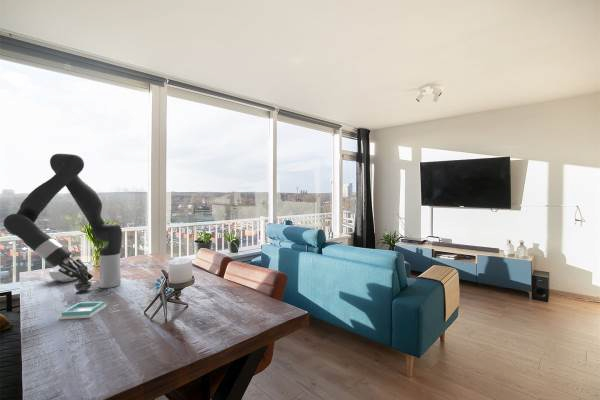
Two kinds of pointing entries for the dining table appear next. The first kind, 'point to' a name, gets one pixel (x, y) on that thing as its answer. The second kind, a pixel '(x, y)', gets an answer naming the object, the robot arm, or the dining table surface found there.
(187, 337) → the dining table surface
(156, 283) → the gear
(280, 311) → the dining table surface
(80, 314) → the socket board
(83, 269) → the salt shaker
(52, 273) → the cereal bowl
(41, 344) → the dining table surface
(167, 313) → the dining table surface
